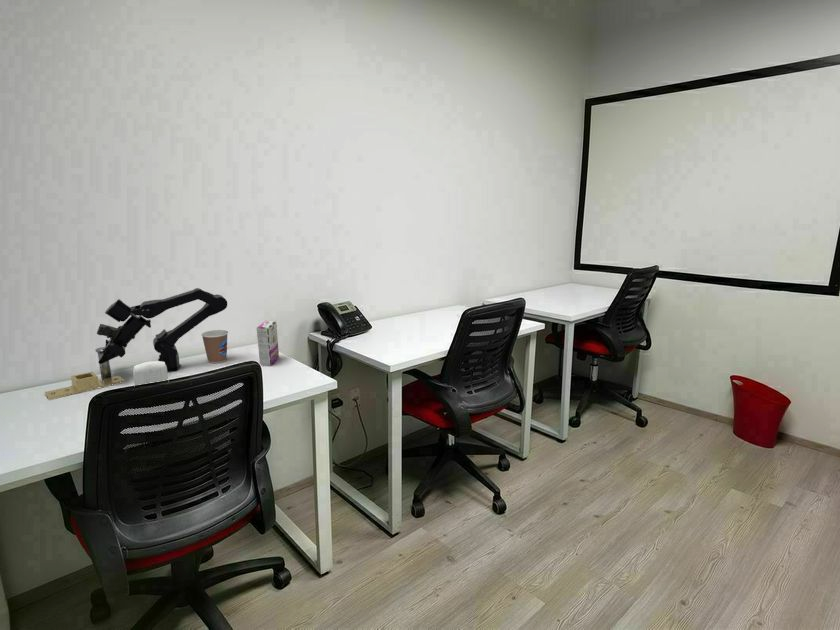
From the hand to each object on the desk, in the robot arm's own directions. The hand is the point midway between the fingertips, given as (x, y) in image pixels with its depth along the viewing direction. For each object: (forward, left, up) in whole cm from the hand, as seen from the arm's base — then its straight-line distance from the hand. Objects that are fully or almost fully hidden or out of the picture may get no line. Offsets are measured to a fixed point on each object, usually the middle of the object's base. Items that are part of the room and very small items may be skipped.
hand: (99, 361), depth 180 cm
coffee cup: (-37, -17, -7) cm, 41 cm away
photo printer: (-24, +19, -7) cm, 32 cm away
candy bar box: (-59, -12, -7) cm, 61 cm away
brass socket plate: (+2, +8, -7) cm, 11 cm away
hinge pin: (-1, -1, -7) cm, 7 cm away
